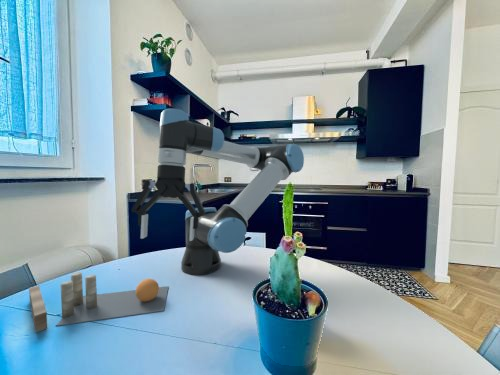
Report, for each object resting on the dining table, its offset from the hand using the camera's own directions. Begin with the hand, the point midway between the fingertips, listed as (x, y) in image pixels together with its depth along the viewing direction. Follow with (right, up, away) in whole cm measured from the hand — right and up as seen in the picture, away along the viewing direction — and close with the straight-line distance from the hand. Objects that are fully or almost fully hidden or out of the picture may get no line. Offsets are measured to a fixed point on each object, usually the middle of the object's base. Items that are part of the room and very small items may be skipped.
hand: (167, 238), depth 65 cm
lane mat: (-12, -18, -2) cm, 22 cm away
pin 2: (-24, -18, -3) cm, 30 cm away
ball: (-6, -15, -1) cm, 16 cm away
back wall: (-31, -18, -7) cm, 36 cm away
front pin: (-19, -18, -4) cm, 26 cm away
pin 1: (-23, -18, -8) cm, 30 cm away
